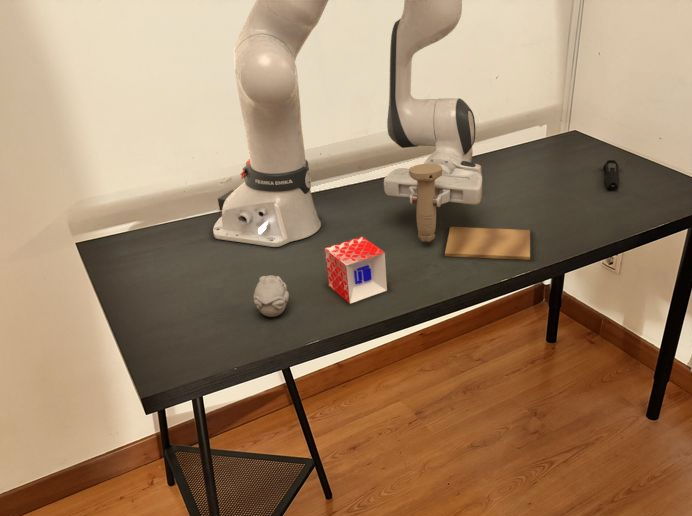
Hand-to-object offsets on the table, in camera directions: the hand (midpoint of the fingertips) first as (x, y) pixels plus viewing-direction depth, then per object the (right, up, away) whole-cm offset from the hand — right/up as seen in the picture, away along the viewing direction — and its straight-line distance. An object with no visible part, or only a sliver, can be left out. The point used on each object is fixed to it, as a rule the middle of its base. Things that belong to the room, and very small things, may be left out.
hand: (424, 201), depth 141 cm
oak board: (+13, -7, +7) cm, 17 cm away
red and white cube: (-12, -18, -7) cm, 23 cm away
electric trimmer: (+45, +12, +35) cm, 58 cm away
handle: (0, -7, +6) cm, 9 cm away
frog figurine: (-26, -23, -14) cm, 37 cm away
